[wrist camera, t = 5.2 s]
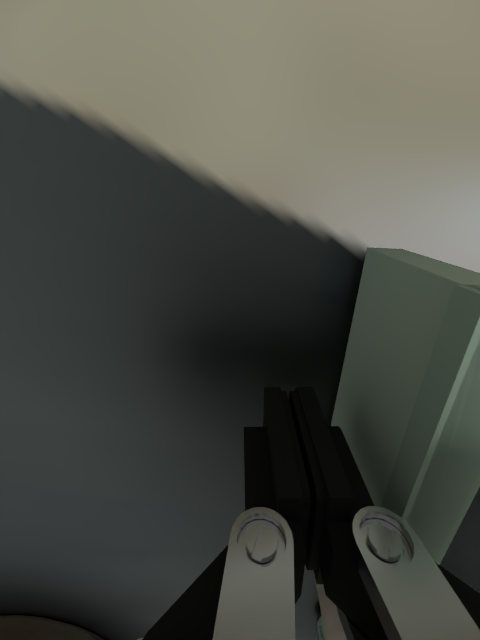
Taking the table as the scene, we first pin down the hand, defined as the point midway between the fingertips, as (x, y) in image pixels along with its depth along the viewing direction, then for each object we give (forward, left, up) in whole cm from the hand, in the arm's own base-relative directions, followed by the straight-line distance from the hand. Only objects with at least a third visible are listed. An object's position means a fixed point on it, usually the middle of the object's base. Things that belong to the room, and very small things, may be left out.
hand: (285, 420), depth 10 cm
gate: (-3, -2, -2) cm, 4 cm away
